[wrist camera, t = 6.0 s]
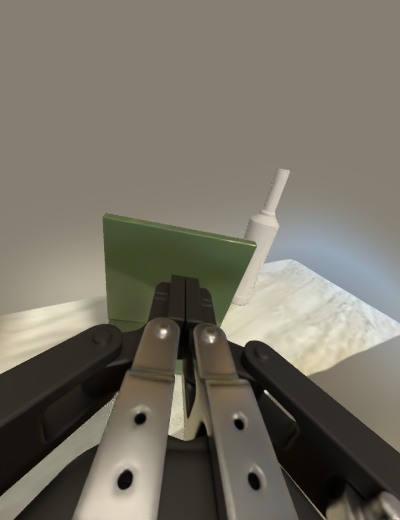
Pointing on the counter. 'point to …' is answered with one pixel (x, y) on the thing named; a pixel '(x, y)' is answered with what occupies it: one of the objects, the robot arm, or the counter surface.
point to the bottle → (261, 237)
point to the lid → (168, 264)
